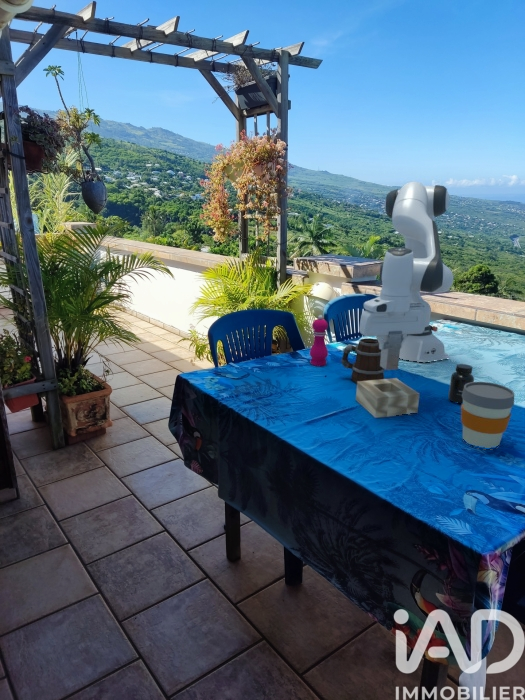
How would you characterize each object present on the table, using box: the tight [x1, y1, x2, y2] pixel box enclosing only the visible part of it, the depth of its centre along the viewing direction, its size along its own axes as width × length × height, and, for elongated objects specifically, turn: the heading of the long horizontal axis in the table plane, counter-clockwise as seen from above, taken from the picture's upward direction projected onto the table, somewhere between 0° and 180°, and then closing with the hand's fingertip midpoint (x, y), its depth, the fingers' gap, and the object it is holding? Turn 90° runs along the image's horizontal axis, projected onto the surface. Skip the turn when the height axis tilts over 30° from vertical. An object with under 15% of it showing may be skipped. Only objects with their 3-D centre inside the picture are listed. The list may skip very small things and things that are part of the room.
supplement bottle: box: [447, 363, 475, 403], centre depth 153 cm, size 7×7×12 cm
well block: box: [355, 377, 420, 419], centre depth 148 cm, size 14×14×6 cm
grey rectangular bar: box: [380, 331, 402, 371], centre depth 144 cm, size 4×4×12 cm
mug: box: [340, 337, 385, 384], centre depth 170 cm, size 16×12×15 cm
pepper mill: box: [309, 314, 329, 367], centre depth 187 cm, size 7×7×20 cm
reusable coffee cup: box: [460, 381, 515, 448], centre depth 125 cm, size 13×13×15 cm
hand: (390, 348), depth 144 cm, fingers closed on grey rectangular bar, 4 cm apart
